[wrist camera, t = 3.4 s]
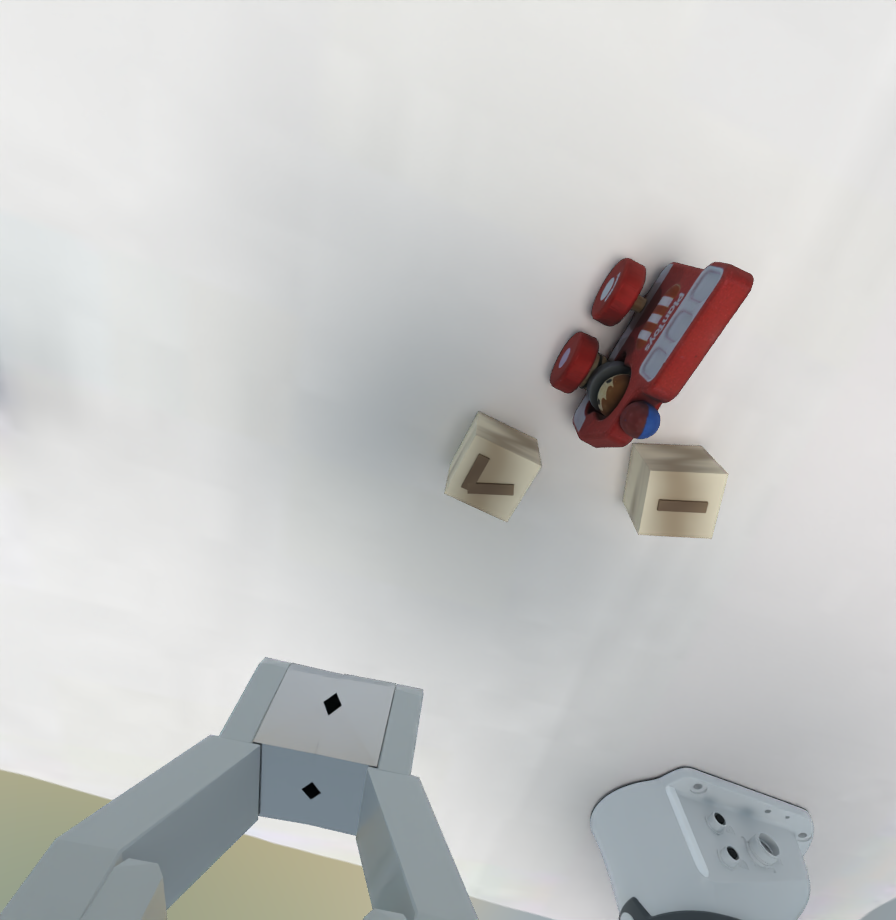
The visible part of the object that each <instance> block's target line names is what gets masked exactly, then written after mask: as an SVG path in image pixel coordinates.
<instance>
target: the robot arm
mask: <svg viewBox="0 0 896 920" xmlns="http://www.w3.org/2000/svg"><path fill="white" fill-rule="evenodd" d="M395 688H396V689H395ZM422 700H423V689H419V688H414V687H409V686H404V685H399V684H397V685H396V683H391V682H386V681H381V680H375V679H370V678H365V677H359V676H354V675H349V674H344V675H343V674H339V673H335V672H330V671H326V670H322V669H317V668H313V667H309V666H304V665H300V664H296V663H290V662H286V661H281V660H276V659H272V658H267V657H265V658H264V659H263V660H262V661H261V662H260V664H259V665H258V667H257V668H256V670H255V672H254V674H253V676H252V677H251V679H250V681H249V683H248V685H247V686H246V688H245V690H244V692H243V694H242V695H241V697H240V699H239V701H238V703H237V704H236V706H235V708H234V710H233V712H232V713H231V715H230V717H229V719H228V721H227V722H226V724H225V726H224V728H223V730H222V731H221V733H220V735H219V736H215V735H209V736H208V737H206V738H205V739H203V740H202V741H200V742H199V743H197V744H196V745H194V746H193V747H191V748H190V749H188V750H187V751H185V752H184V753H182V754H181V755H179V756H178V757H176V758H175V759H173V760H172V761H170V762H169V763H167V764H166V765H164V766H163V767H162V768H160V769H159V770H157V771H156V772H154V773H153V774H151V775H150V776H148V777H147V778H145V779H144V780H142V781H141V782H139V783H138V784H136V785H135V786H133V787H132V788H130V789H129V790H127V791H126V792H124V793H123V794H121V795H120V796H118V797H117V798H115V799H114V800H112V801H111V802H109V803H108V804H106V805H105V806H103V807H102V808H100V809H99V810H98V811H96V812H95V813H93V814H92V815H90V816H89V817H87V818H86V819H84V820H83V821H81V822H80V823H78V824H77V825H75V826H74V827H72V828H71V829H70V830H68V831H66V832H65V833H63V834H62V835H60V836H59V837H57V838H56V839H55V840H54V841H53V843H52V844H51V845H50V847H49V848H48V850H47V851H46V852H45V854H44V855H43V856H42V858H41V859H40V861H39V862H38V863H37V865H36V866H35V867H34V869H33V870H32V871H31V873H30V874H29V875H28V877H27V878H26V880H25V881H24V883H23V884H22V885H21V886H20V888H19V889H18V890H17V892H16V893H15V894H14V896H13V897H12V898H11V900H10V901H9V903H8V904H7V905H6V907H5V908H4V909H3V911H2V912H1V914H0V920H167V913H166V910H167V909H168V908H169V907H170V906H171V905H172V904H173V903H174V902H175V901H176V900H177V899H178V898H179V897H180V896H181V895H182V894H183V893H184V892H185V891H186V890H187V889H188V888H190V887H191V885H192V884H194V883H195V882H196V880H198V879H199V878H200V877H201V875H203V874H204V873H205V872H206V871H207V870H208V869H209V868H210V867H211V866H212V865H213V864H214V863H215V862H216V861H217V860H218V859H219V858H220V857H221V856H222V855H223V854H224V853H225V852H226V851H227V850H228V849H229V848H230V847H231V846H232V845H233V844H234V843H235V842H236V841H237V840H238V839H239V838H240V837H241V836H242V835H243V834H244V833H245V832H246V831H247V830H248V829H249V828H250V827H251V826H252V825H253V824H254V823H255V822H256V821H257V820H258V816H262V817H268V818H274V819H280V820H285V821H291V822H297V823H303V824H308V825H313V826H317V827H321V828H325V829H330V830H334V831H338V832H342V833H346V834H351V835H355V836H356V841H357V846H358V850H359V854H360V858H361V862H362V867H363V870H364V875H365V879H366V883H367V887H368V892H369V896H370V900H371V904H372V908H373V910H372V911H370V912H369V913H368V914H367V915H366V916H365V917H364V918H363V920H479V919H478V917H477V915H476V912H475V910H474V907H473V905H472V903H471V900H470V898H469V895H468V893H467V891H466V888H465V886H464V884H463V881H462V879H461V876H460V874H459V872H458V869H457V867H456V864H455V862H454V860H453V857H452V855H451V853H450V850H449V848H448V845H447V843H446V841H445V838H444V836H443V833H442V831H441V829H440V826H439V824H438V822H437V819H436V817H435V814H434V812H433V810H432V807H431V805H430V802H429V800H428V798H427V795H426V793H425V791H424V788H423V786H422V783H421V781H420V779H419V777H416V776H412V775H411V769H412V763H413V756H414V750H415V744H416V738H417V731H418V725H419V719H420V712H421V706H422ZM590 826H591V831H592V833H593V835H594V838H595V840H596V842H597V844H598V847H599V849H600V851H601V854H602V857H603V859H604V862H605V865H606V868H607V871H608V874H609V877H610V881H611V884H612V888H613V891H614V895H615V898H616V902H617V906H618V910H619V914H620V915H619V920H797V919H798V918H799V916H800V915H801V913H802V912H803V910H804V908H805V907H806V905H807V902H808V899H809V895H810V880H809V875H808V871H807V867H806V864H805V861H804V858H803V856H804V854H805V853H806V851H807V850H808V848H809V846H810V844H811V841H812V838H813V833H814V827H813V822H812V819H811V817H810V814H809V812H808V811H806V810H804V809H802V808H799V807H797V806H794V805H791V804H788V803H786V802H783V801H780V800H777V799H775V798H772V797H769V796H766V795H764V794H761V793H758V792H755V791H753V790H750V789H747V788H744V787H742V786H739V785H736V784H733V783H731V782H728V781H725V780H722V779H720V778H717V777H714V776H711V775H709V774H706V773H703V772H700V771H698V770H695V769H692V768H681V769H677V770H675V771H673V772H670V773H668V774H666V775H664V776H663V777H661V778H658V779H654V780H650V781H644V782H639V783H635V784H631V785H628V786H625V787H623V788H620V789H618V790H616V791H614V792H612V793H611V794H609V795H608V796H606V797H605V798H604V799H603V800H601V801H600V802H599V804H598V805H597V806H596V807H595V809H594V811H593V813H592V816H591V820H590Z"/></svg>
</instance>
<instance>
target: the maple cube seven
mask: <svg viewBox="0 0 896 920" xmlns="http://www.w3.org/2000/svg"><path fill="white" fill-rule="evenodd" d="M541 467H542V464H541V459H540V454H539V449H538V443H537V439H535V438H533V437H531V436H529V435H527V434H524V433H522V432H520V431H518V430H516V429H514V428H512V427H510V426H508V425H506V424H504V423H502V422H500V421H498V420H496V419H493V418H491V417H489V416H487V415H485V414H483V413H481V412H479V411H478V413H477V415H476V417H475V418H474V420H473V422H472V424H471V426H470V428H469V430H468V432H467V433H466V435H465V437H464V439H463V441H462V443H461V445H460V447H459V449H458V450H457V452H456V454H455V456H454V458H453V460H452V462H451V464H450V467H449V472H448V477H447V482H446V487H445V492H444V494H446V495H449V496H451V497H453V498H455V499H457V500H459V501H462V502H464V503H466V504H468V505H470V506H472V507H475V508H477V509H479V510H481V511H483V512H486V513H488V514H490V515H492V516H494V517H496V518H499V519H501V520H503V521H505V522H508V520H509V518H510V517H511V515H512V514H513V512H514V510H515V509H516V507H517V506H518V504H519V502H520V501H521V499H522V498H523V496H524V494H525V493H526V491H527V490H528V488H529V486H530V485H531V483H532V482H533V480H534V478H535V477H536V475H537V474H538V472H539V470H540V469H541Z"/></svg>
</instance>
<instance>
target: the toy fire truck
mask: <svg viewBox="0 0 896 920" xmlns="http://www.w3.org/2000/svg"><path fill="white" fill-rule="evenodd" d="M645 278H646V268H645V267H644V266H643V265H641V264H639V263H637V262H635V261H633V260H632V259H629V258H625V259H622V260H621V261H620V262H619V263H618V264H617V265H616V266H615V267H614V268H613V269H612V271H611V272H610V273H609V275H608V276H607V278H606V279H605V281H604V283H603V284H602V286H601V288H600V290H599V292H598V294H597V296H596V299H595V301H594V304H593V307H592V317H593V319H595V320H597V321H599V322H601V323H602V324H604V325H606V326H614V325H616V324H618V323H619V322H620V321H621V320H622V319H623V318H624V317H625V316H626V314H627V313H628V312H629V311H630V310H631V309H632V310H634V311H635V313H634V316H633V319H632V321H631V322H630V324H629V325H628V327H627V329H626V330H625V332H624V334H623V335H622V337H621V338H620V340H619V342H618V343H617V345H616V347H615V348H614V350H613V351H612V353H611V355H610V357H609V358H608V360H607V359H606V357H604V356H602V355H600V354H598V349H599V342H598V341H597V339H596V338H595V337H591V336H590V335H588V334H586V333H583V332H578V333H576V334H575V335H574V336H572V337H571V339H570V340H569V341H568V342H567V344H566V345H565V346H564V348H563V349H562V351H561V353H560V355H559V356H558V358H557V360H556V362H555V365H554V367H553V370H552V373H551V376H550V383H551V385H552V386H553V387H554V388H556V389H559V390H561V391H563V392H564V393H572V392H573V391H575V390H576V389H577V388H578V387H580V388H582V389H585V390H587V394H586V395H585V397H584V398H583V400H582V402H581V403H580V405H579V407H578V408H577V410H576V412H575V414H574V417H573V424H574V427H575V429H576V432H577V434H578V436H579V438H580V439H581V440H582V441H584V442H586V443H588V444H590V445H592V446H593V447H596V448H601V447H604V448H605V447H624V446H626V445H627V444H628V443H630V442H631V441H632V440H633V438H636V439H645V438H648V437H650V436H652V435H653V434H654V433H655V432H656V431H657V430H658V428H659V425H660V415H659V413H658V409H659V407H660V406H661V404H662V403H667V402H669V401H671V400H672V399H674V398H675V397H676V396H677V395H678V394H679V392H680V391H681V389H682V388H683V386H684V385H685V384H686V382H687V381H688V379H689V378H690V377H691V375H692V374H693V372H694V371H695V369H696V368H697V367H698V365H699V364H700V362H701V361H702V360H703V358H704V356H705V355H706V354H707V352H708V351H709V349H710V348H711V346H712V345H713V344H714V342H715V341H716V339H717V338H718V336H719V335H720V334H721V332H722V331H723V329H724V328H725V327H726V325H727V324H728V322H729V321H730V319H731V318H732V317H733V315H734V314H735V313H736V311H737V310H738V308H739V307H740V305H741V304H742V303H743V301H744V300H745V298H746V297H747V295H748V294H749V292H750V291H751V288H752V285H753V281H754V279H753V276H752V275H751V274H750V273H748V272H746V271H743V270H741V269H739V268H737V267H735V266H733V265H731V264H727V263H721V262H714V263H712V264H710V265H709V266H707V267H706V268H705V269H700V268H696V267H692V266H688V265H684V264H680V263H676V262H673V263H670V264H669V265H667V266H666V267H665V268H664V270H663V271H662V272H661V273H660V275H659V277H658V279H657V280H656V281H655V283H654V285H653V287H652V288H651V290H650V291H649V292H648V293H647V294H646V295H645V296H644V297H642V296H640V295H639V294H640V292H641V290H642V288H643V285H644V282H645Z"/></svg>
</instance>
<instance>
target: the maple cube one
mask: <svg viewBox="0 0 896 920" xmlns="http://www.w3.org/2000/svg"><path fill="white" fill-rule="evenodd" d="M727 478H728V473H727V472H726V471H725V470H724V469H723V468H722V467H721V466H720V465H719V464H718V463H717V462H716V461H715V460H714V459H713V458H712V457H711V456H710V455H709V454H708V452H707V451H706V450H705V449H704V448H703V447H702V446H692V445H668V444H644V443H632V449H631V455H630V461H629V467H628V473H627V479H626V484H625V490H624V496H623V503H624V505H625V507H626V510H627V512H628V514H629V516H630V518H631V520H632V522H633V524H634V527H635V529H636V531H637V533H638V535H653V536H671V537H690V538H708V539H712V536H713V532H714V528H715V524H716V520H717V516H718V512H719V509H720V505H721V501H722V497H723V493H724V489H725V486H726V482H727Z"/></svg>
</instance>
